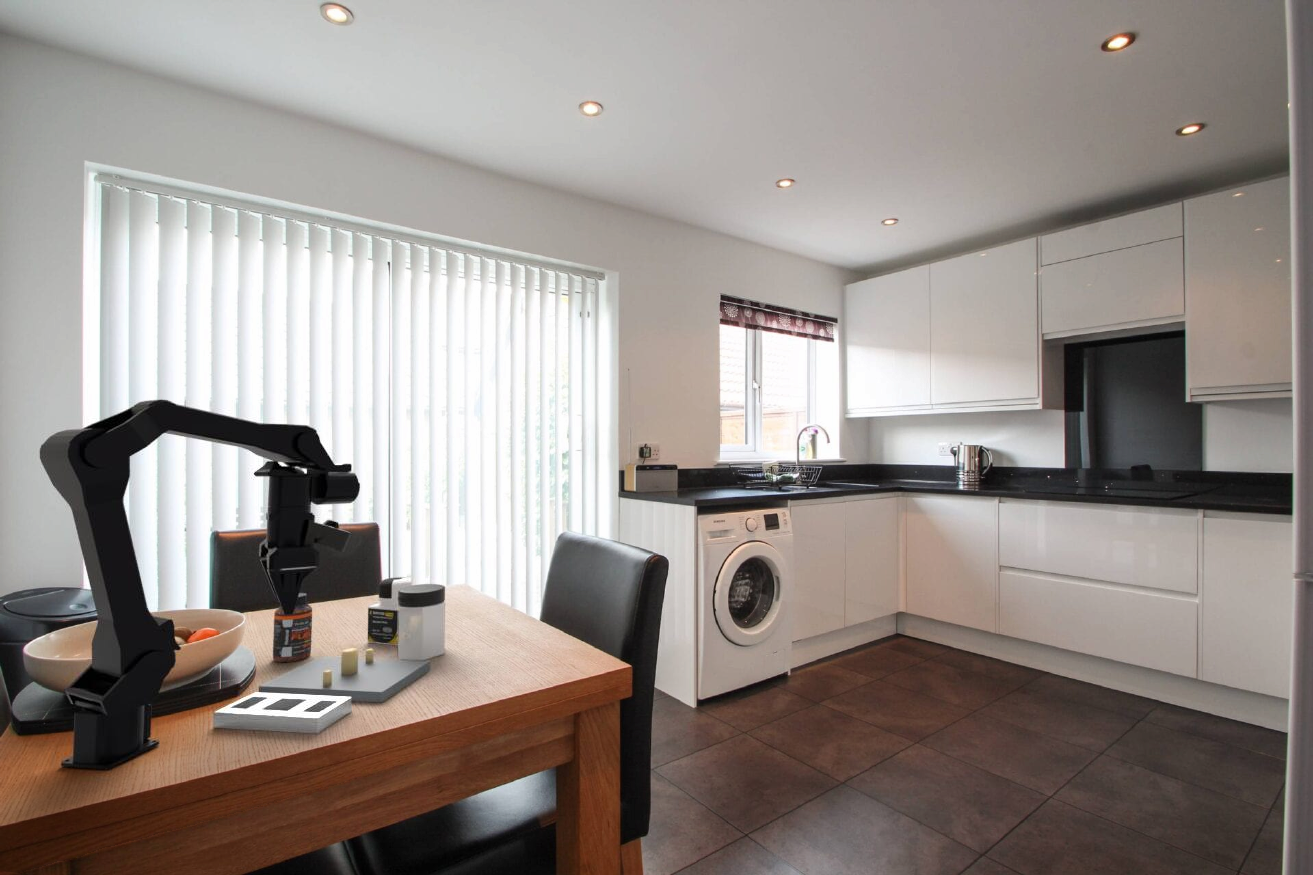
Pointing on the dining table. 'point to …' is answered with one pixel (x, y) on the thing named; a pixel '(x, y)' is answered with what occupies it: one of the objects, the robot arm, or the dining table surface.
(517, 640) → the dining table surface
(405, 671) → the post base
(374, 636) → the medicine bottle
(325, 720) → the white slotted frame
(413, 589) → the jar
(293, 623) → the supplement bottle
